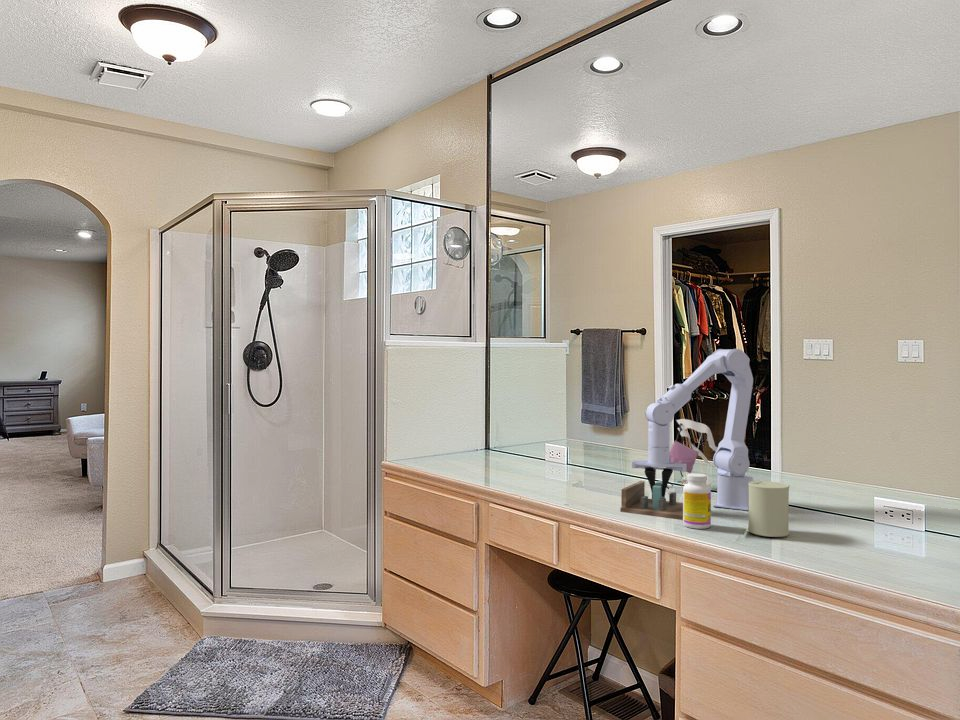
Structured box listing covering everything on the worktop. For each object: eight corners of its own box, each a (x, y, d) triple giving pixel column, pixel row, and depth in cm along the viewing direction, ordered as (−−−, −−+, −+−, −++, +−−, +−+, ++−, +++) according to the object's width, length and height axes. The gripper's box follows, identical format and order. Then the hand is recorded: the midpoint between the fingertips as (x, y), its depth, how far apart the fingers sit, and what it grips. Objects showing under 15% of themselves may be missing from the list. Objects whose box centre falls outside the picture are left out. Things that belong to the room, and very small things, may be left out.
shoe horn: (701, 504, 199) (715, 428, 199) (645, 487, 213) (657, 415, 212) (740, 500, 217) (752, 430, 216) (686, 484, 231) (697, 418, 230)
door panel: (664, 502, 194) (664, 481, 194) (660, 509, 185) (660, 487, 185) (657, 501, 195) (657, 480, 195) (652, 509, 186) (652, 487, 186)
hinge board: (703, 508, 191) (703, 487, 191) (686, 520, 178) (686, 496, 178) (640, 501, 201) (640, 480, 201) (620, 511, 187) (620, 489, 187)
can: (754, 525, 172) (755, 477, 172) (793, 531, 167) (794, 482, 167) (742, 532, 165) (742, 482, 165) (782, 539, 159) (783, 487, 159)
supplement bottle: (712, 530, 167) (712, 477, 167) (684, 528, 169) (684, 476, 169) (708, 523, 174) (709, 473, 174) (681, 522, 175) (682, 472, 175)
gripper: (687, 446, 191) (687, 495, 191) (634, 443, 196) (634, 491, 196) (685, 449, 184) (684, 499, 184) (630, 446, 190) (630, 495, 190)
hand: (658, 495), depth 190 cm, fingers closed on door panel, 2 cm apart
